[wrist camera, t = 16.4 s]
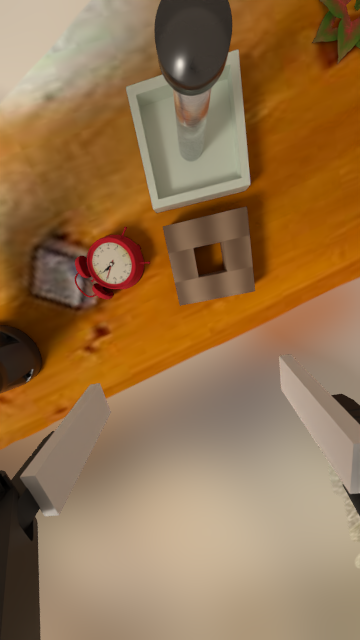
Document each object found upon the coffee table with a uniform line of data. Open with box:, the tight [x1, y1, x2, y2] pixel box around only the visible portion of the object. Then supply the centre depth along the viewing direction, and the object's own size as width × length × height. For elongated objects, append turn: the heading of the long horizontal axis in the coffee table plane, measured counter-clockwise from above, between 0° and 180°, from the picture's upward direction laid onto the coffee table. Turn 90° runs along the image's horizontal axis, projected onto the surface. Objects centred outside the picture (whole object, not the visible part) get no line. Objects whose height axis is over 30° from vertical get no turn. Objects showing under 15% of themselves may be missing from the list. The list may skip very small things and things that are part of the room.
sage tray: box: [126, 50, 250, 213], centre depth 32 cm, size 16×16×4 cm
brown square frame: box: [163, 206, 255, 305], centre depth 37 cm, size 14×14×4 cm
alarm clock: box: [75, 227, 150, 299], centre depth 39 cm, size 10×6×15 cm
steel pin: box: [155, 0, 232, 161], centre depth 24 cm, size 6×6×18 cm
